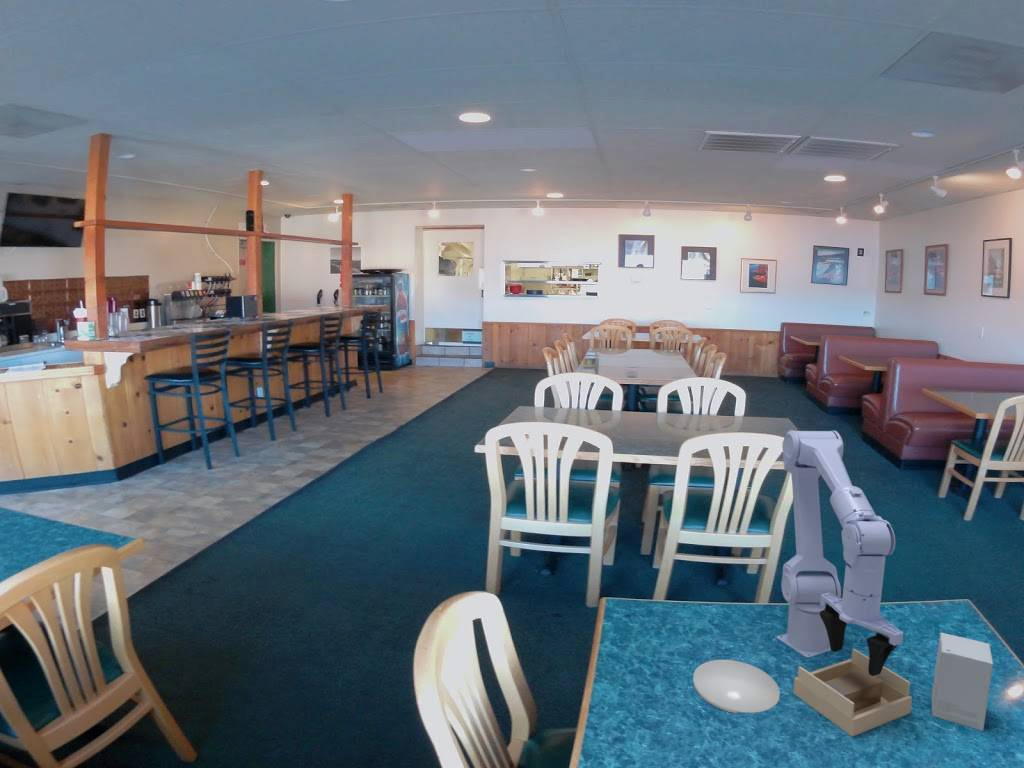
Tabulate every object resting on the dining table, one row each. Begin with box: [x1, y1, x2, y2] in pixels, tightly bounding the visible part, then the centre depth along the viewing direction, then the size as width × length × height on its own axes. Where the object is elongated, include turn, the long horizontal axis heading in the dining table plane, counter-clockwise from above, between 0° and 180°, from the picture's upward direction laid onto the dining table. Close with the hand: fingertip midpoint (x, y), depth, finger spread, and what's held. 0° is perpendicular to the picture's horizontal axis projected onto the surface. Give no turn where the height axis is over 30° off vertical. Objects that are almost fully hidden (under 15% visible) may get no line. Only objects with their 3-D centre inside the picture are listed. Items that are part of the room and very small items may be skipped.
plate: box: [692, 659, 781, 715], centre depth 121 cm, size 15×15×1 cm
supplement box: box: [931, 632, 994, 731], centre depth 113 cm, size 7×7×13 cm
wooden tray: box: [792, 648, 913, 737], centre depth 116 cm, size 14×12×6 cm
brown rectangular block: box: [824, 669, 883, 712], centre depth 116 cm, size 10×4×4 cm, turn 114°
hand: (854, 661), depth 115 cm, fingers open, 7 cm apart
